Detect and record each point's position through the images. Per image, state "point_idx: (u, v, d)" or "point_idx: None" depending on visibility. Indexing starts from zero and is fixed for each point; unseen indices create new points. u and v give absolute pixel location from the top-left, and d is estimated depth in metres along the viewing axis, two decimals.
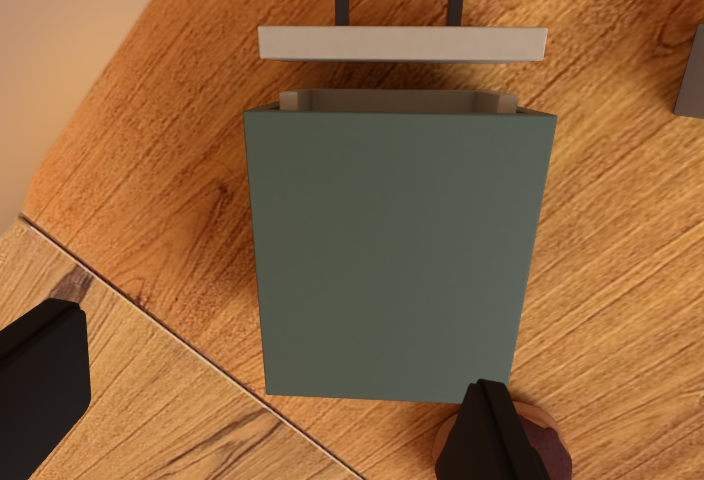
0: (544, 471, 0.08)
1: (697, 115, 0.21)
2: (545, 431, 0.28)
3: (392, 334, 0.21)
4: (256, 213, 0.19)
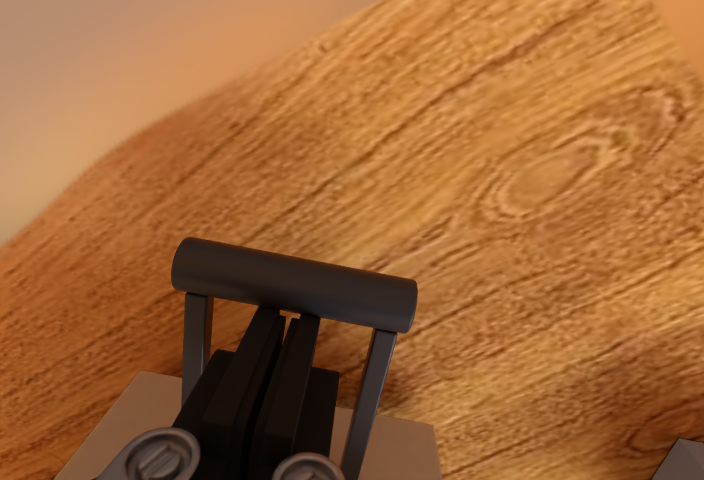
0: (337, 389, 0.10)
1: None
2: None
3: None
4: None
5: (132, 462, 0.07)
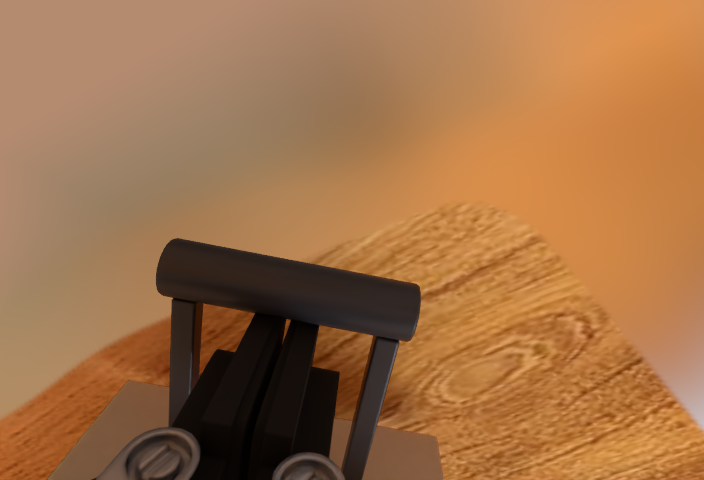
0: (337, 389, 0.10)
1: None
2: None
3: None
4: None
5: (132, 462, 0.07)
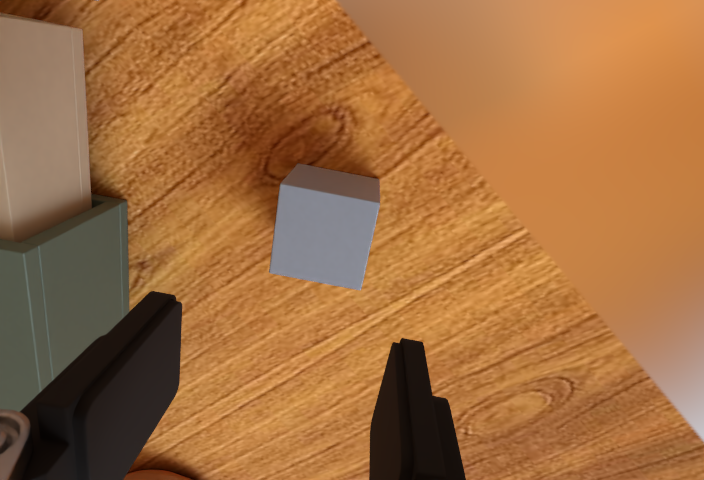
0: (450, 417, 0.09)
1: None
2: None
3: None
4: None
5: None
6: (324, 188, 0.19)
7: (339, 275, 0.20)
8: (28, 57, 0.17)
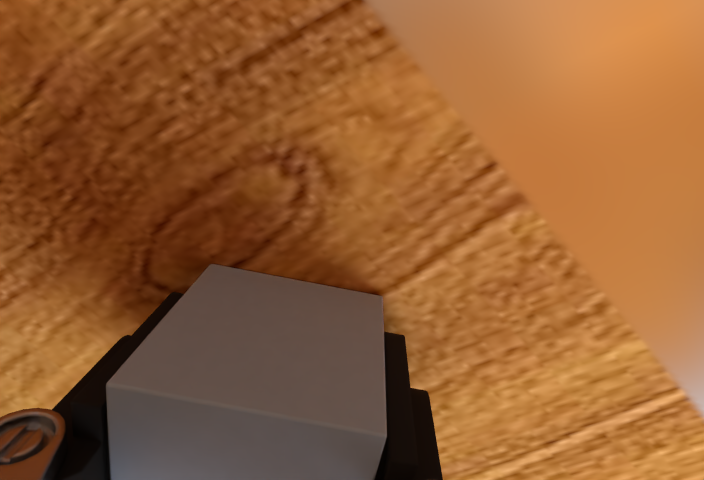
0: (429, 409, 0.09)
1: None
2: None
3: None
4: None
5: None
6: (237, 381, 0.07)
7: None
8: None
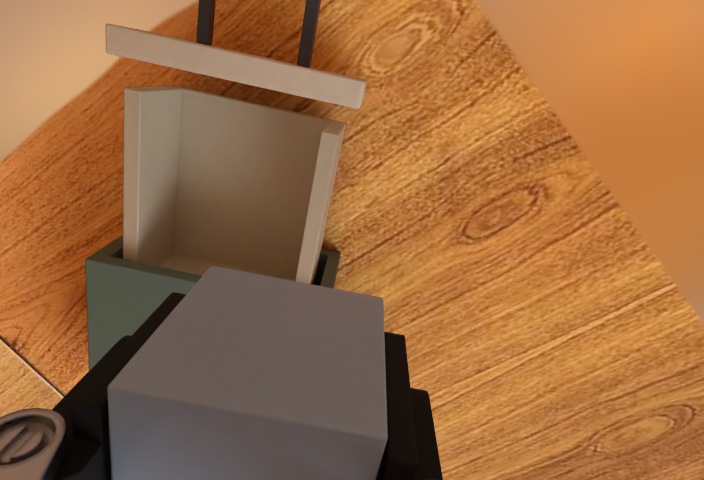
0: (430, 409, 0.09)
1: None
2: None
3: None
4: (91, 331, 0.23)
5: None
6: (238, 383, 0.07)
7: None
8: (336, 156, 0.21)
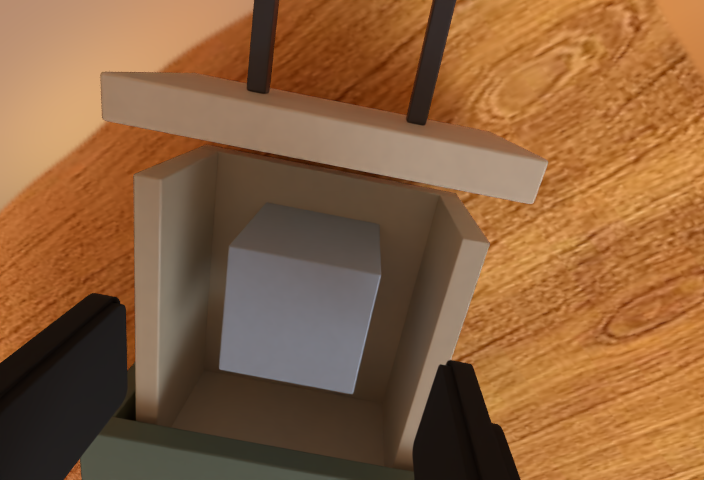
0: (506, 446, 0.09)
1: None
2: None
3: None
4: None
5: None
6: (297, 250, 0.13)
7: (321, 374, 0.14)
8: None
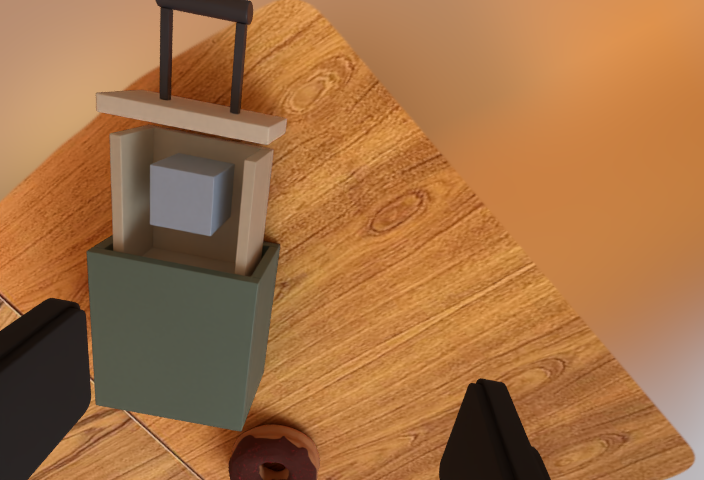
0: (544, 471, 0.08)
1: None
2: (298, 449, 0.43)
3: (172, 381, 0.34)
4: (92, 303, 0.32)
5: None
6: (181, 167, 0.29)
7: (195, 225, 0.30)
8: (260, 175, 0.30)
